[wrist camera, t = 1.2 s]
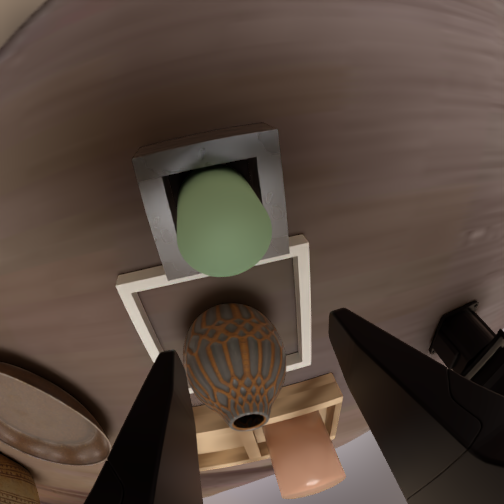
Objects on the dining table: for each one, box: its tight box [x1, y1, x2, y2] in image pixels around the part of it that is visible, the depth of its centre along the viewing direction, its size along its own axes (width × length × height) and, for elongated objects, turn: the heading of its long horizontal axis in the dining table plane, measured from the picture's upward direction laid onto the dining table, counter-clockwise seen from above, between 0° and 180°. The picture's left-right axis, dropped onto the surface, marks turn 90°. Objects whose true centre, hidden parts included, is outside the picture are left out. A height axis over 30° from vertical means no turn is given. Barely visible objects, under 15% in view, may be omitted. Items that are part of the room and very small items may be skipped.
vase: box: [183, 303, 286, 431], centre depth 20 cm, size 7×7×9 cm
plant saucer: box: [0, 362, 112, 466], centre depth 24 cm, size 21×21×3 cm
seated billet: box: [262, 410, 346, 499], centre depth 27 cm, size 7×7×9 cm
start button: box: [177, 164, 272, 277], centre depth 15 cm, size 4×4×4 cm
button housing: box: [132, 122, 290, 281], centre depth 17 cm, size 7×7×3 cm
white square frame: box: [116, 234, 311, 393], centre depth 23 cm, size 13×13×1 cm
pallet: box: [192, 373, 343, 471], centre depth 30 cm, size 20×11×3 cm, turn 97°
